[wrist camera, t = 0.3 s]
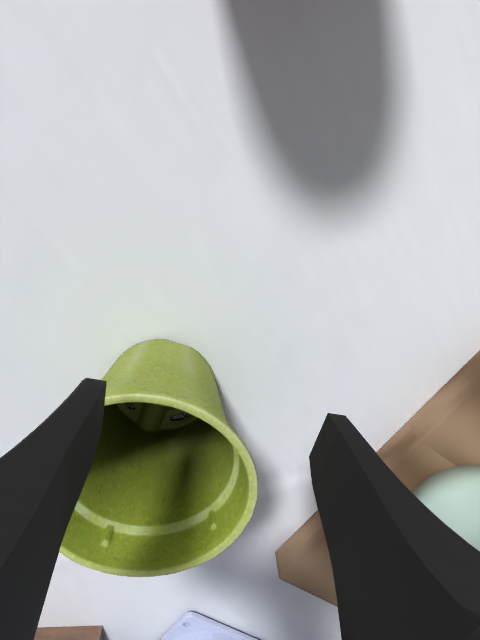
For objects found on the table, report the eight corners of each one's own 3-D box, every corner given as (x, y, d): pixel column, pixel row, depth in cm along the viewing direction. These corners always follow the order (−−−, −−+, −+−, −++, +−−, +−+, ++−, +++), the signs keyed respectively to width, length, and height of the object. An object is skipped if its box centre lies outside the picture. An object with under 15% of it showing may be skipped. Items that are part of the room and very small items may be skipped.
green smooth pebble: (453, 569, 29) (469, 598, 27) (375, 524, 27) (387, 551, 25) (539, 499, 27) (563, 524, 25) (461, 444, 25) (481, 467, 23)
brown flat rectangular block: (392, 612, 34) (403, 638, 32) (275, 552, 31) (279, 578, 29) (624, 419, 28) (653, 438, 26) (509, 321, 25) (533, 335, 23)
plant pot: (269, 412, 26) (294, 528, 18) (136, 471, 27) (104, 606, 19) (196, 282, 23) (187, 353, 15) (49, 356, 24) (-35, 460, 16)
